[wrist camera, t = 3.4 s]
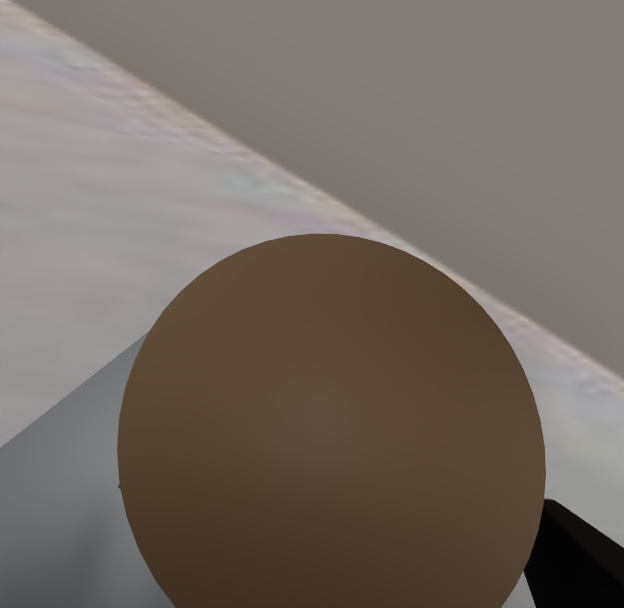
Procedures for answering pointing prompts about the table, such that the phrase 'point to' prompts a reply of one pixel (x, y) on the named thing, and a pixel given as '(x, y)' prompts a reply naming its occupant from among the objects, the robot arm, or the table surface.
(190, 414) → the walnut peg
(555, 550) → the robot arm
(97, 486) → the grey peg socket base
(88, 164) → the table surface
